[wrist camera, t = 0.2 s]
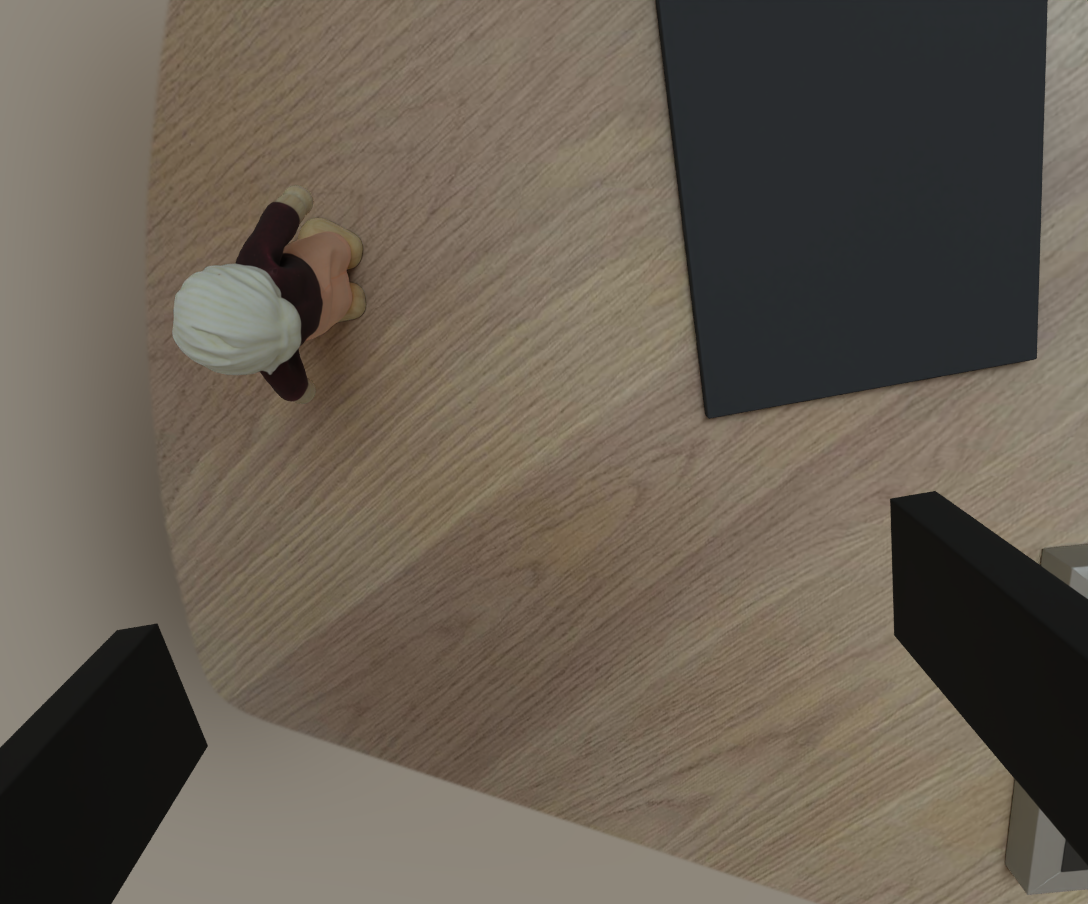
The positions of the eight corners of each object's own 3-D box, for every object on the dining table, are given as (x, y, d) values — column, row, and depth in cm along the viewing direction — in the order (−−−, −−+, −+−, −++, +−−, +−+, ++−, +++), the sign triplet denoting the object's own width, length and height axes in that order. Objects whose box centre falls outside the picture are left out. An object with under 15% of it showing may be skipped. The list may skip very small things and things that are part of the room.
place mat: (645, -80, 27) (648, -86, 27) (1042, -165, 27) (1053, -173, 26) (705, 415, 34) (708, 419, 33) (1028, 357, 33) (1037, 359, 32)
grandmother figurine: (268, 199, 30) (94, 190, 18) (357, 187, 30) (240, 169, 18) (309, 376, 33) (180, 469, 21) (392, 365, 33) (310, 453, 21)
